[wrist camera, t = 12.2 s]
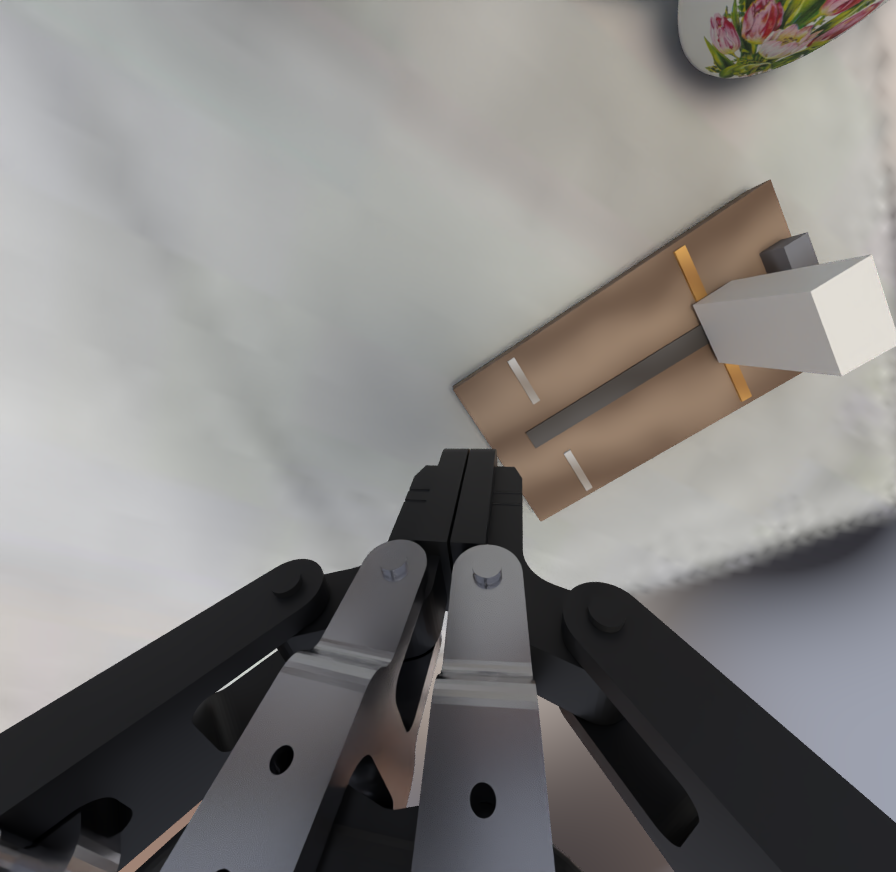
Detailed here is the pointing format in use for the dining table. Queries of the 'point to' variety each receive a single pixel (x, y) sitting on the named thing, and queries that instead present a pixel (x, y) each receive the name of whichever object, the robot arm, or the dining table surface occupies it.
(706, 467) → the dining table surface
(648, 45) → the dining table surface
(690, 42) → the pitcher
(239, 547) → the dining table surface
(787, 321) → the slider tab
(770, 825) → the robot arm
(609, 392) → the board
